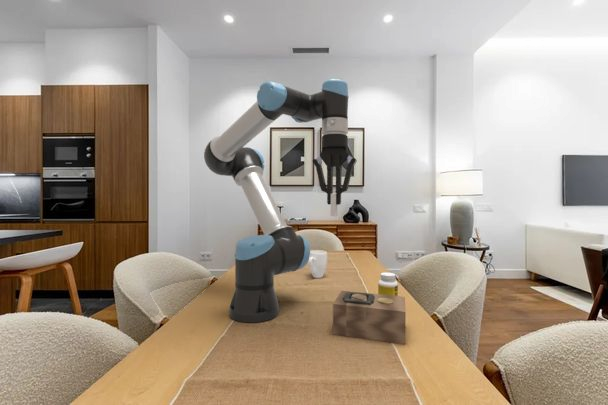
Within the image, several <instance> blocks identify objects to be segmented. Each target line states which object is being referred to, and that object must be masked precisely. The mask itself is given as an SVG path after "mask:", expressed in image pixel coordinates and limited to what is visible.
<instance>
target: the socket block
mask: <svg viewBox="0 0 608 405" xmlns="http://www.w3.org/2000/svg"><path fill="white" fill-rule="evenodd" d="M353 294H363V295H366V297H367V300H366V301H365V300H356V299H352V295H353ZM406 312H407V311H406V297H405V296H402V295H401V296H399V295H398V296H391V295H380V294H378V293H367V292H357V291H356V292H355V291H349V290H341V291H340V292H339V294H338V295H337V297H336V298H335V300H334V302H332V335H335V336H336V335H337V336H341V337H342V336H343V337H349V338H358V339H365V340H370V341H378V342H386V343H394V344H398V345H399V344H400V345H406V318H407V316H406V314H407V313H406Z"/></svg>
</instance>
